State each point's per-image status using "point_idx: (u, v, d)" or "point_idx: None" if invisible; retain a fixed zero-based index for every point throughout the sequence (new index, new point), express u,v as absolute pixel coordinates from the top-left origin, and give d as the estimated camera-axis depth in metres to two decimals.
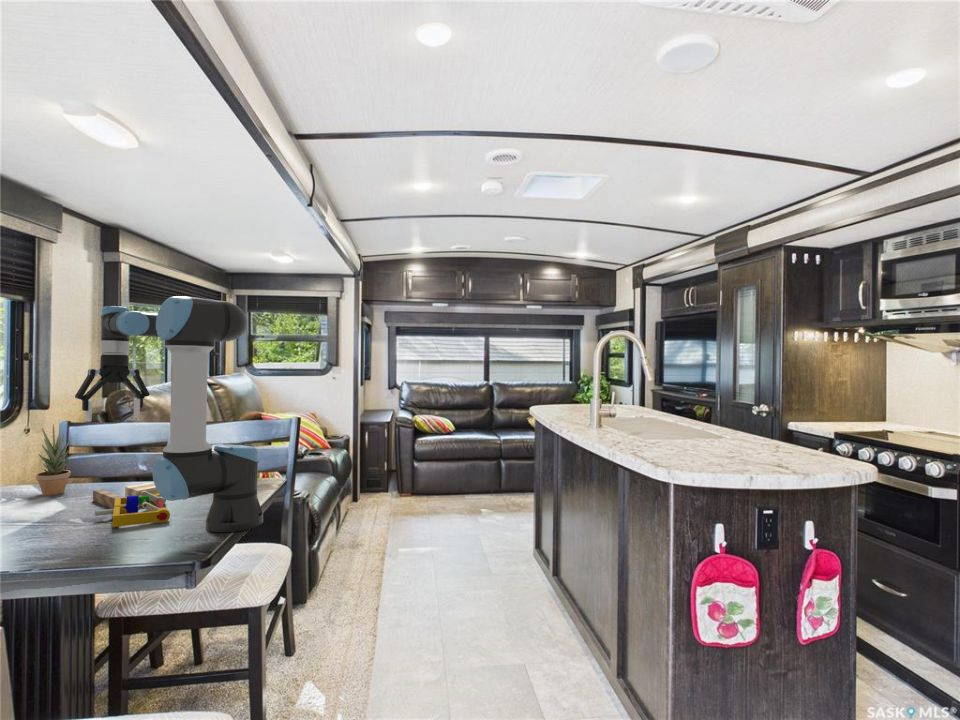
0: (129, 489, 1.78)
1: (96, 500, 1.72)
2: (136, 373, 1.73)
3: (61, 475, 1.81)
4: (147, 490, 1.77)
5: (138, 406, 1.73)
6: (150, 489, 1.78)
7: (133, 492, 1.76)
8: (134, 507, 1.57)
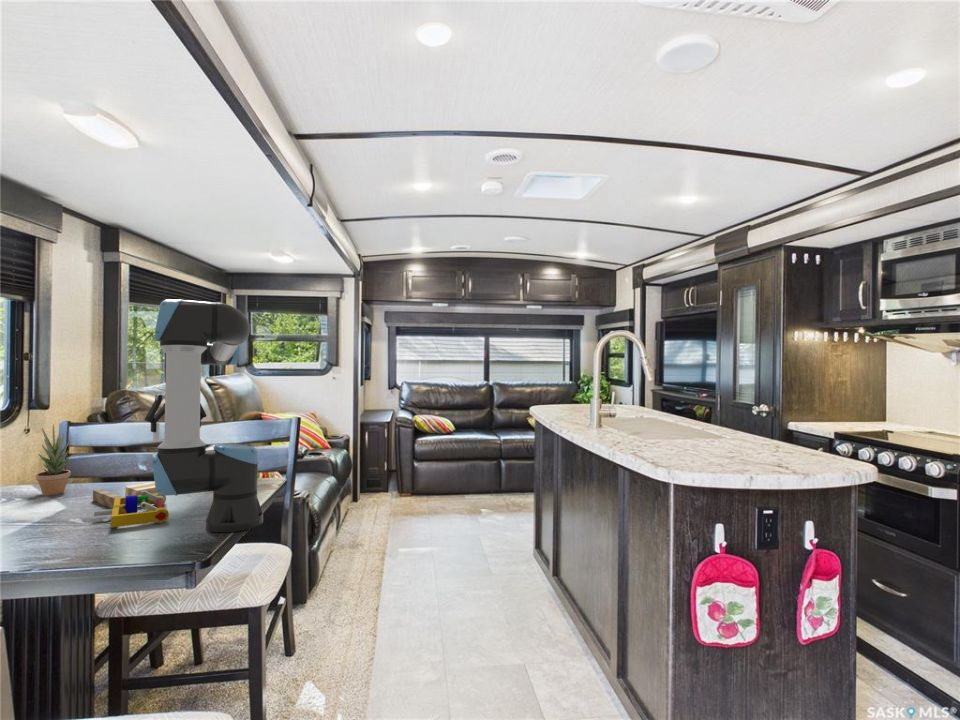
0: (129, 489, 1.78)
1: (96, 500, 1.72)
2: None
3: (61, 475, 1.81)
4: (147, 490, 1.77)
5: None
6: (150, 489, 1.78)
7: (133, 492, 1.76)
8: (133, 507, 1.56)
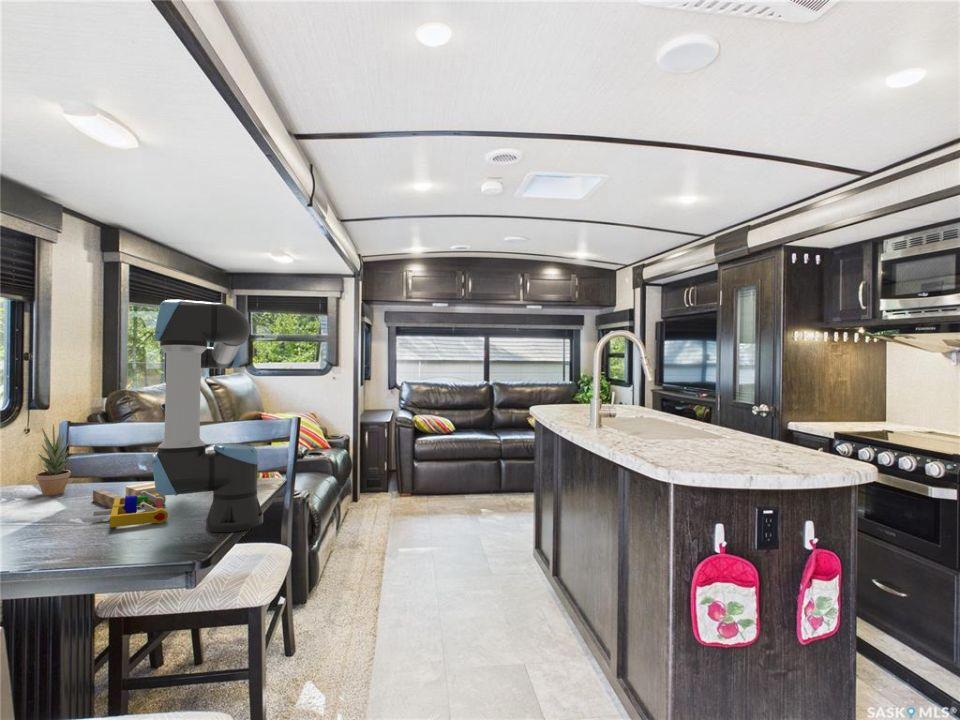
0: (129, 489, 1.78)
1: (96, 500, 1.72)
2: None
3: (61, 475, 1.81)
4: (146, 490, 1.77)
5: None
6: (149, 489, 1.78)
7: (133, 491, 1.76)
8: (133, 507, 1.56)
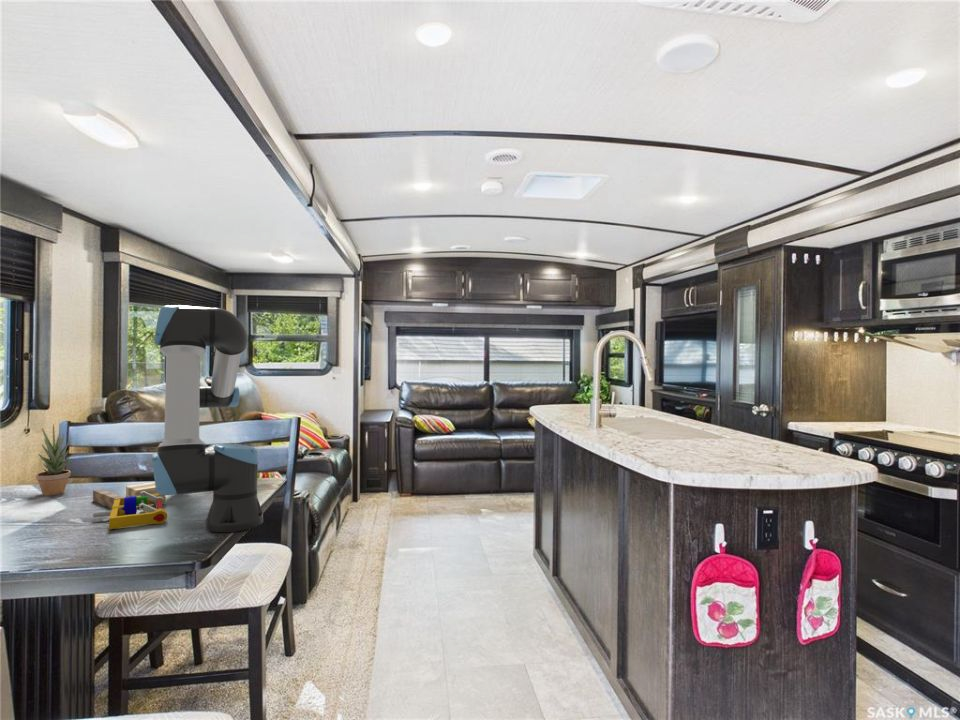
0: (129, 489, 1.78)
1: (96, 500, 1.72)
2: None
3: (61, 475, 1.81)
4: (146, 490, 1.77)
5: None
6: (149, 489, 1.78)
7: (132, 491, 1.76)
8: (132, 508, 1.56)
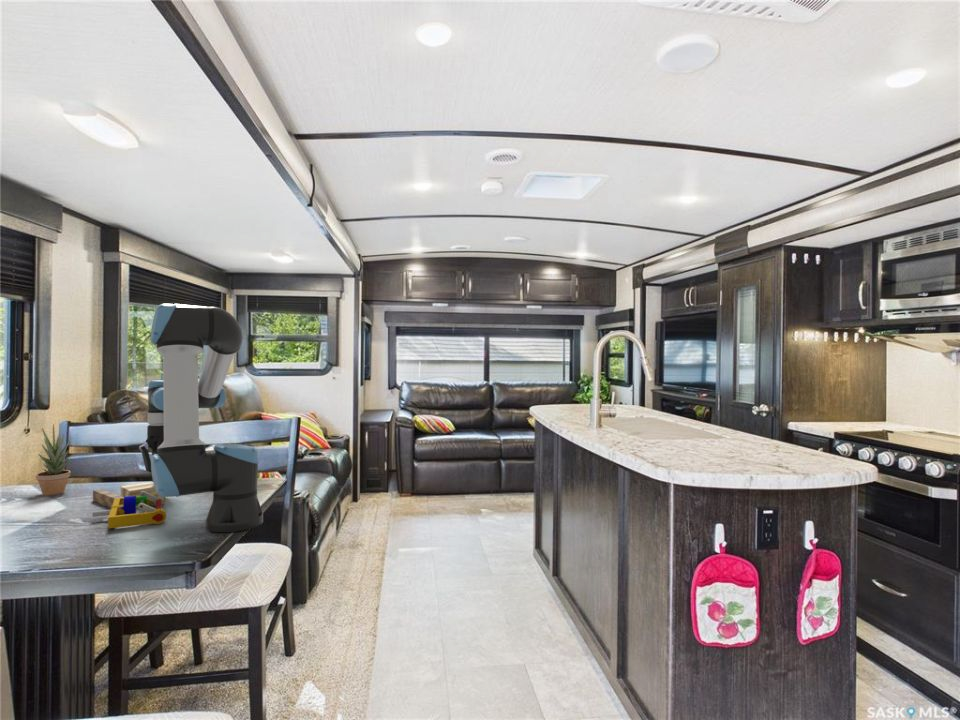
0: (123, 489, 1.77)
1: (96, 500, 1.72)
2: None
3: (61, 475, 1.81)
4: (139, 490, 1.76)
5: None
6: (143, 489, 1.76)
7: (126, 492, 1.75)
8: (132, 507, 1.56)
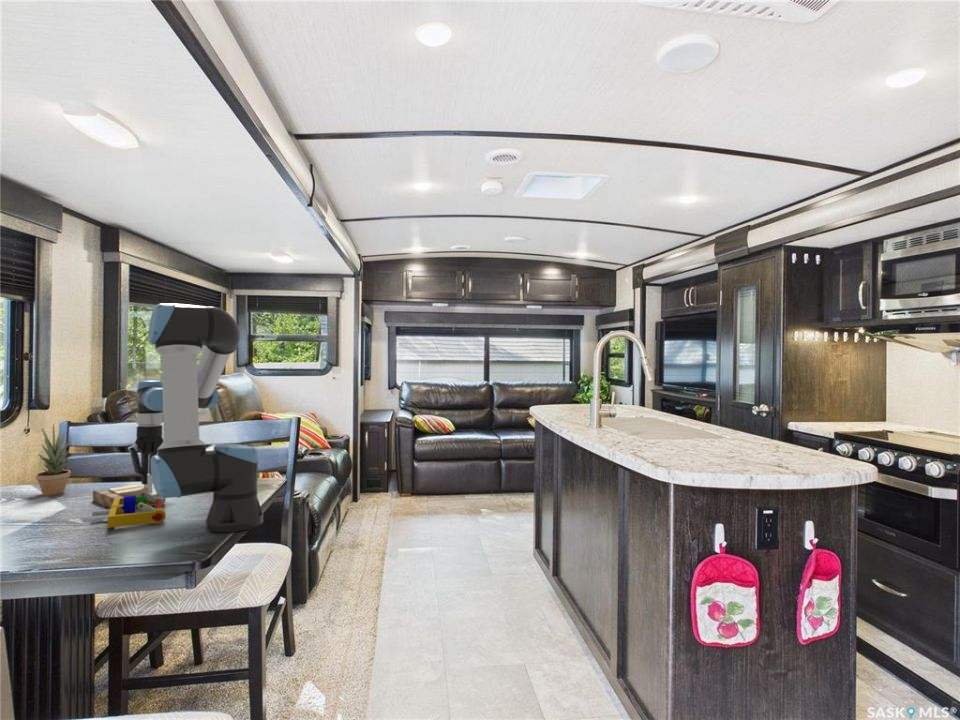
0: (111, 491, 1.74)
1: (96, 500, 1.72)
2: None
3: (61, 475, 1.81)
4: (127, 493, 1.73)
5: (151, 482, 1.79)
6: (131, 492, 1.74)
7: None
8: (131, 507, 1.56)
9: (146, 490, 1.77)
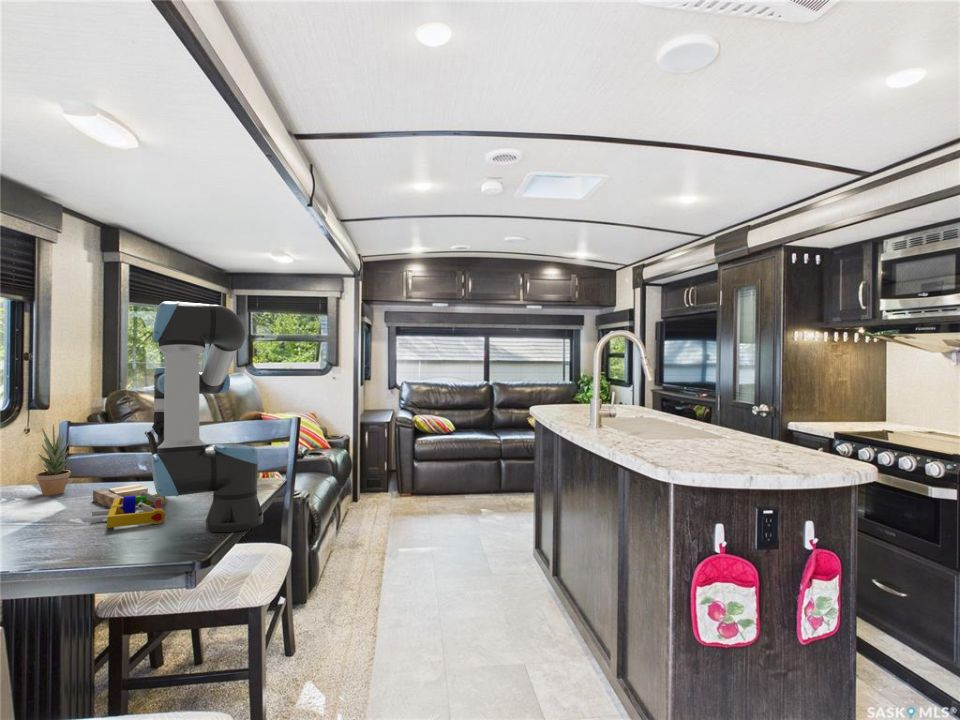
0: (111, 491, 1.74)
1: (96, 500, 1.72)
2: None
3: (61, 475, 1.81)
4: (127, 493, 1.73)
5: None
6: (130, 492, 1.74)
7: None
8: (131, 507, 1.56)
9: (146, 490, 1.77)
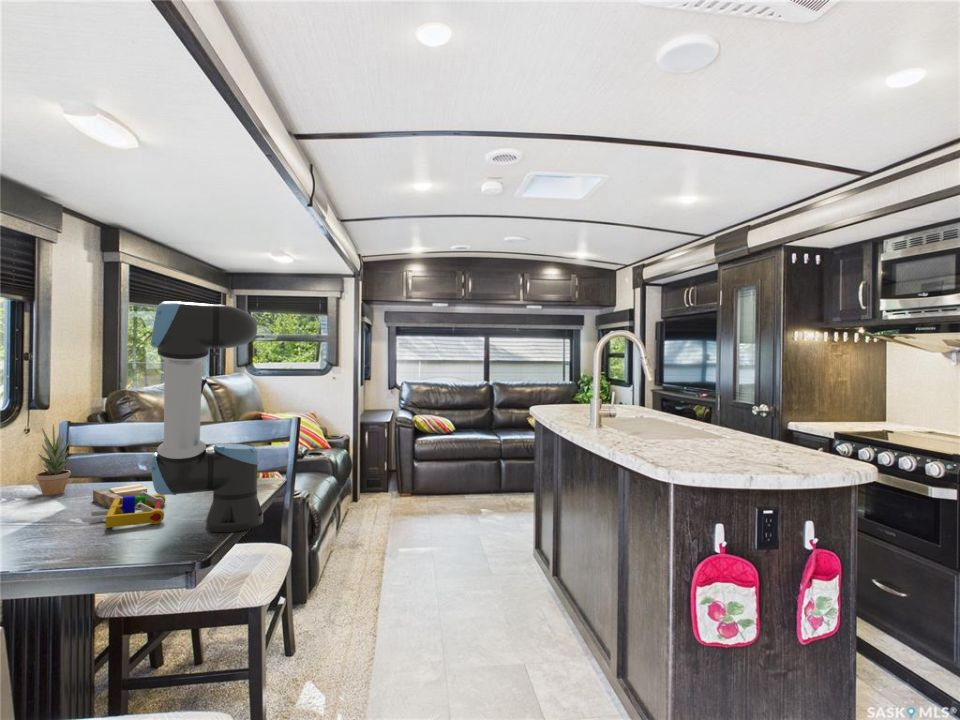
0: (111, 491, 1.75)
1: (96, 500, 1.72)
2: (203, 382, 1.80)
3: (61, 475, 1.81)
4: (126, 493, 1.73)
5: None
6: (130, 492, 1.73)
7: None
8: (130, 507, 1.56)
9: (145, 490, 1.77)
